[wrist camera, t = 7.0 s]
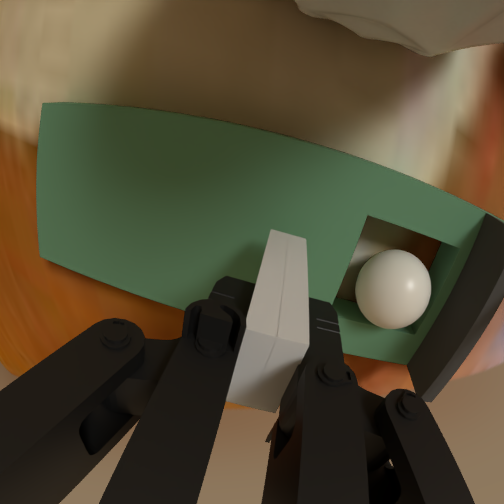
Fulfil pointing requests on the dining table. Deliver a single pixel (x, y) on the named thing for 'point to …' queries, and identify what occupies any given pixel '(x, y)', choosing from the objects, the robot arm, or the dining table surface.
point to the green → (254, 222)
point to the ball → (393, 289)
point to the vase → (417, 21)
